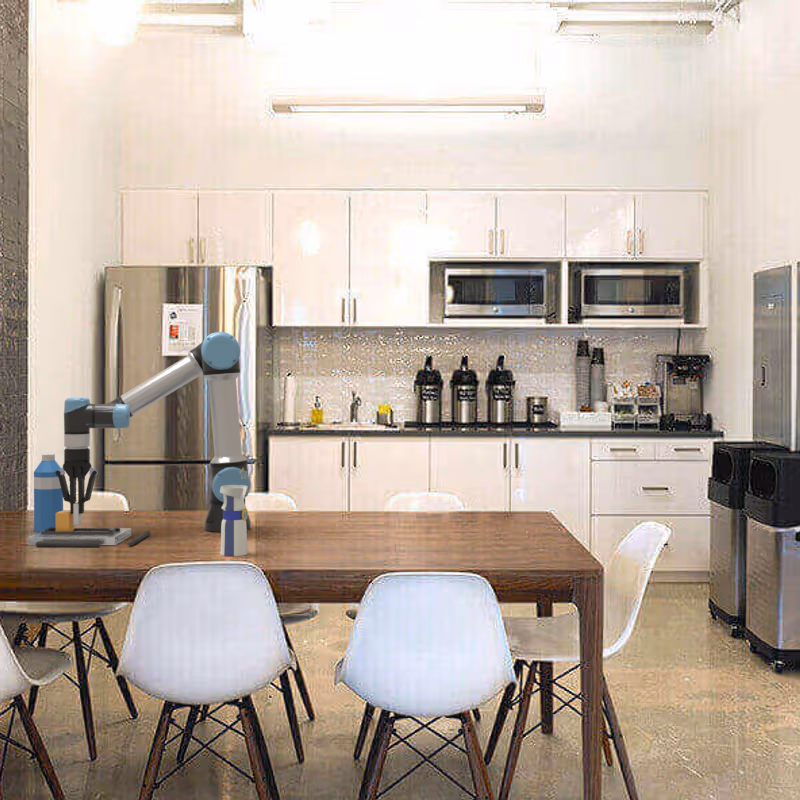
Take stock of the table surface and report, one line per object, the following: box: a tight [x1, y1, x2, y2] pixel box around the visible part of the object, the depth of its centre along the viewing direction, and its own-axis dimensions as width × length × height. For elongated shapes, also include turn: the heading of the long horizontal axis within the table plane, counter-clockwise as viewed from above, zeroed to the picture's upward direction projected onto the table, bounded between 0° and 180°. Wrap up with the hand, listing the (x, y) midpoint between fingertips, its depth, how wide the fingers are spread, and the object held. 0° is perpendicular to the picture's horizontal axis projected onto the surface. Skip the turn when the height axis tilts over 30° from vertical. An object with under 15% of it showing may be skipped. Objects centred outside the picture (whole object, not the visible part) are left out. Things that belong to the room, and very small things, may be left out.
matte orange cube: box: [56, 510, 75, 531], centre depth 311 cm, size 4×5×6 cm
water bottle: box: [33, 453, 64, 533], centre depth 331 cm, size 9×9×25 cm
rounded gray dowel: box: [127, 530, 151, 547], centre depth 311 cm, size 21×2×2 cm, turn 0°
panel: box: [27, 526, 132, 546], centre depth 311 cm, size 26×18×4 cm
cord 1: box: [35, 541, 101, 548], centre depth 300 cm, size 19×2×2 cm, turn 90°
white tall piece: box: [219, 468, 249, 557], centre depth 289 cm, size 8×9×25 cm
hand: (77, 524), depth 311 cm, fingers closed
